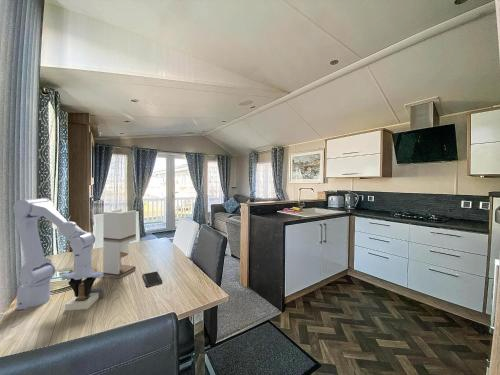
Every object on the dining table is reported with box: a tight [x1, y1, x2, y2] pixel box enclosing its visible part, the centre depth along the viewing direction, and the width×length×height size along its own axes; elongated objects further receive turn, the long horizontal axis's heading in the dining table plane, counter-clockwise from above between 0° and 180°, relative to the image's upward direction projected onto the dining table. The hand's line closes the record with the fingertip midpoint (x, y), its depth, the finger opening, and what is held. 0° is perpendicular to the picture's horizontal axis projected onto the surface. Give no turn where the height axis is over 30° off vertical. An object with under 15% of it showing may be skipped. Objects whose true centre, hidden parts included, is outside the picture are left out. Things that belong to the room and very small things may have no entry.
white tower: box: [102, 209, 137, 279], centre depth 119 cm, size 11×11×35 cm
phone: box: [142, 271, 163, 288], centre depth 113 cm, size 8×1×15 cm
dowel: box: [78, 282, 87, 301], centre depth 88 cm, size 3×3×8 cm
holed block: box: [64, 293, 100, 311], centre depth 88 cm, size 8×8×2 cm
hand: (82, 295), depth 88 cm, fingers closed on dowel, 3 cm apart
